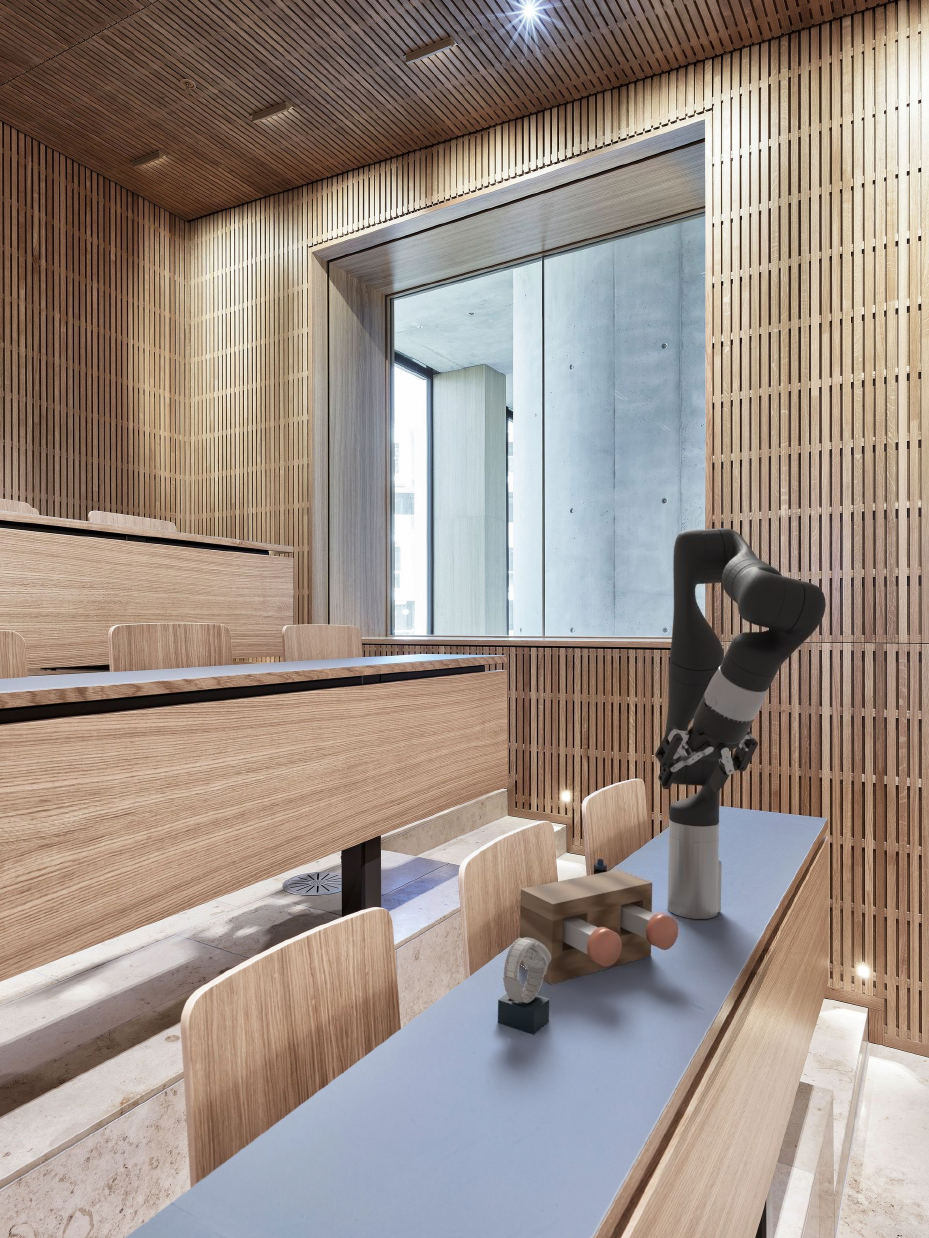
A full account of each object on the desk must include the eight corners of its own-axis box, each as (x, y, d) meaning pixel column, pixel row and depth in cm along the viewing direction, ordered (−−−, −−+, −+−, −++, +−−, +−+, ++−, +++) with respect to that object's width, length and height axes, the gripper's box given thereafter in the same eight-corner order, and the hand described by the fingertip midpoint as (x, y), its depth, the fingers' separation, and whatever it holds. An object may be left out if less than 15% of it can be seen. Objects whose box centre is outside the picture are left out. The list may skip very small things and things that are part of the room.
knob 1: (574, 938, 126) (574, 906, 126) (621, 962, 117) (622, 928, 117) (549, 944, 123) (550, 912, 123) (595, 969, 114) (596, 934, 114)
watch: (555, 1016, 110) (557, 936, 110) (527, 1040, 103) (528, 955, 103) (520, 1005, 113) (521, 926, 113) (490, 1028, 106) (491, 944, 106)
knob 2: (629, 924, 132) (630, 894, 132) (678, 946, 123) (678, 914, 123) (607, 930, 129) (607, 899, 130) (655, 953, 121) (655, 919, 121)
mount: (616, 939, 137) (618, 869, 138) (651, 955, 131) (652, 882, 131) (519, 965, 126) (520, 888, 126) (551, 984, 119) (552, 904, 119)
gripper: (761, 689, 117) (718, 771, 125) (675, 682, 113) (637, 767, 121) (787, 722, 111) (740, 806, 119) (698, 716, 107) (656, 803, 115)
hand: (688, 786), depth 120 cm, fingers open, 8 cm apart
